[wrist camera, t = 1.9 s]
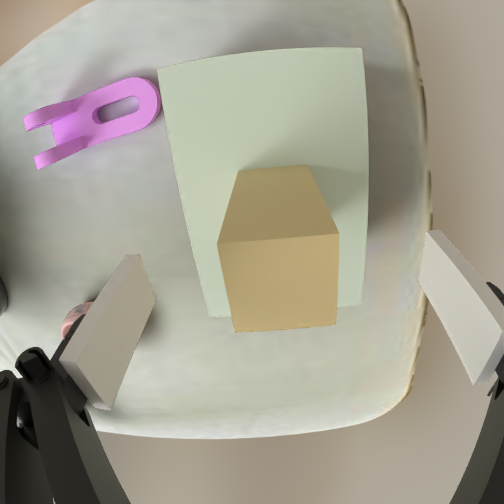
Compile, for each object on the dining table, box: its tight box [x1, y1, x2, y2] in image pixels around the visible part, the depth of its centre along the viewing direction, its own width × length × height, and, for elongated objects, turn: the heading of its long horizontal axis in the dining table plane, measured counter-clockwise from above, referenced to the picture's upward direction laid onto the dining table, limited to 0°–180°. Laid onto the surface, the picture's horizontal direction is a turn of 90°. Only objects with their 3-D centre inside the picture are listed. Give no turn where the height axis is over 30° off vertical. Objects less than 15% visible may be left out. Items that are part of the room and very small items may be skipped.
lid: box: [157, 47, 369, 333], centre depth 18 cm, size 13×20×12 cm, turn 7°
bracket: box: [23, 77, 161, 170], centre depth 25 cm, size 13×6×7 cm, turn 100°
